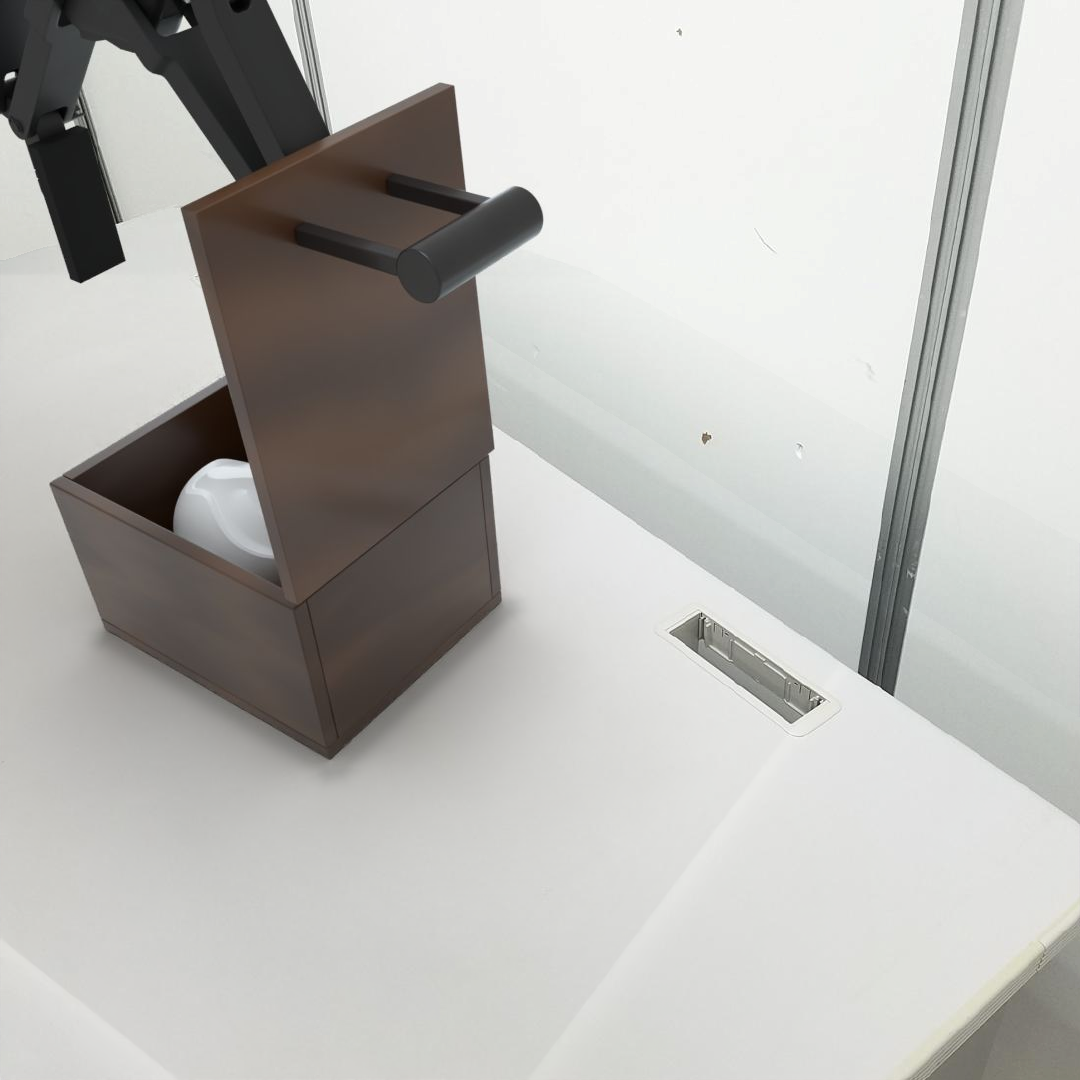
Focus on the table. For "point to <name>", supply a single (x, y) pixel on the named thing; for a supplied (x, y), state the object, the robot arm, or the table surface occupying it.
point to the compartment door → (355, 326)
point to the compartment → (260, 606)
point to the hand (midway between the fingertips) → (196, 310)
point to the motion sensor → (227, 517)
